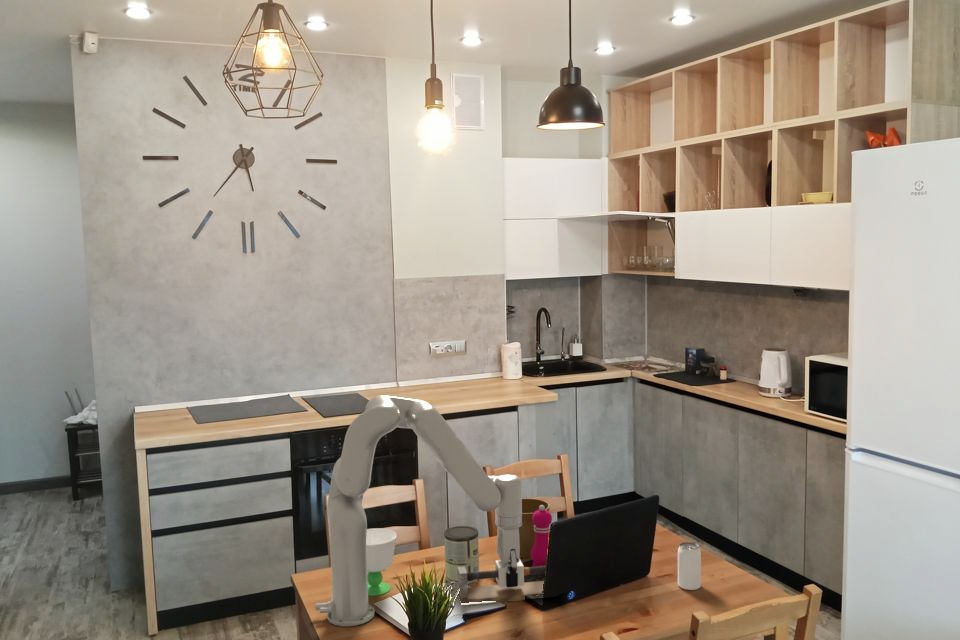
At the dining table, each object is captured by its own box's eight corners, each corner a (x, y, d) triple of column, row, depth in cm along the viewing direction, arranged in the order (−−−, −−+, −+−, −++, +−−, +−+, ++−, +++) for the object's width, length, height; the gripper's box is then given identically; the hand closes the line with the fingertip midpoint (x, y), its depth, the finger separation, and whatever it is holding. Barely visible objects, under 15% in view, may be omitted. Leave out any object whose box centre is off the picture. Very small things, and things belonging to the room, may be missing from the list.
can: (686, 592, 226) (686, 551, 225) (673, 583, 232) (673, 543, 231) (705, 588, 228) (705, 547, 227) (691, 579, 234) (691, 540, 233)
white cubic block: (499, 587, 223) (499, 568, 222) (495, 579, 228) (495, 560, 228) (524, 585, 224) (523, 565, 224) (519, 577, 230) (519, 558, 229)
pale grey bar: (461, 605, 220) (460, 576, 220) (457, 593, 228) (456, 564, 227) (560, 596, 225) (559, 567, 224) (552, 585, 233) (552, 556, 232)
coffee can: (447, 570, 245) (446, 525, 244) (481, 571, 244) (480, 525, 243) (442, 584, 235) (441, 537, 234) (477, 585, 234) (476, 538, 233)
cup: (390, 601, 224) (388, 546, 223) (344, 597, 227) (342, 543, 226) (404, 581, 238) (403, 529, 236) (360, 578, 240) (358, 527, 239)
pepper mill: (534, 574, 240) (533, 509, 239) (528, 565, 247) (527, 502, 246) (557, 572, 242) (556, 507, 240) (550, 563, 249) (550, 500, 247)
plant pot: (528, 541, 267) (527, 495, 266) (559, 554, 256) (559, 505, 255) (494, 553, 258) (493, 504, 257) (525, 566, 247) (524, 516, 245)
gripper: (490, 510, 232) (491, 571, 234) (501, 531, 216) (502, 596, 217) (515, 509, 234) (516, 569, 235) (528, 529, 217) (529, 593, 218)
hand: (509, 581), depth 226 cm, fingers closed on white cubic block, 5 cm apart
